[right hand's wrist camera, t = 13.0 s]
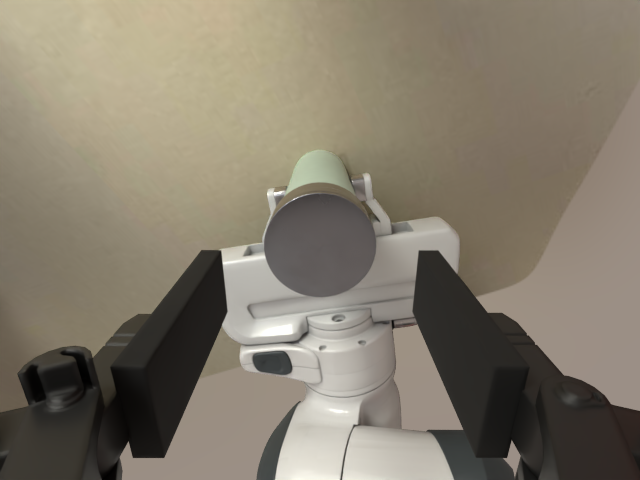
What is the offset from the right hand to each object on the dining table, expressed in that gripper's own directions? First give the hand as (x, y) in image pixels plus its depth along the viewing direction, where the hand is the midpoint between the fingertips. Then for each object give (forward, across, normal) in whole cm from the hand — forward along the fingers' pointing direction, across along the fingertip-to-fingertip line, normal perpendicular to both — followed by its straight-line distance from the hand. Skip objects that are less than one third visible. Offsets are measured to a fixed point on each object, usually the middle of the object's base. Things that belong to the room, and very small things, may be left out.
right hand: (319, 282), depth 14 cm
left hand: (+15, 0, -1) cm, 15 cm away
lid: (+4, 0, 0) cm, 4 cm away
